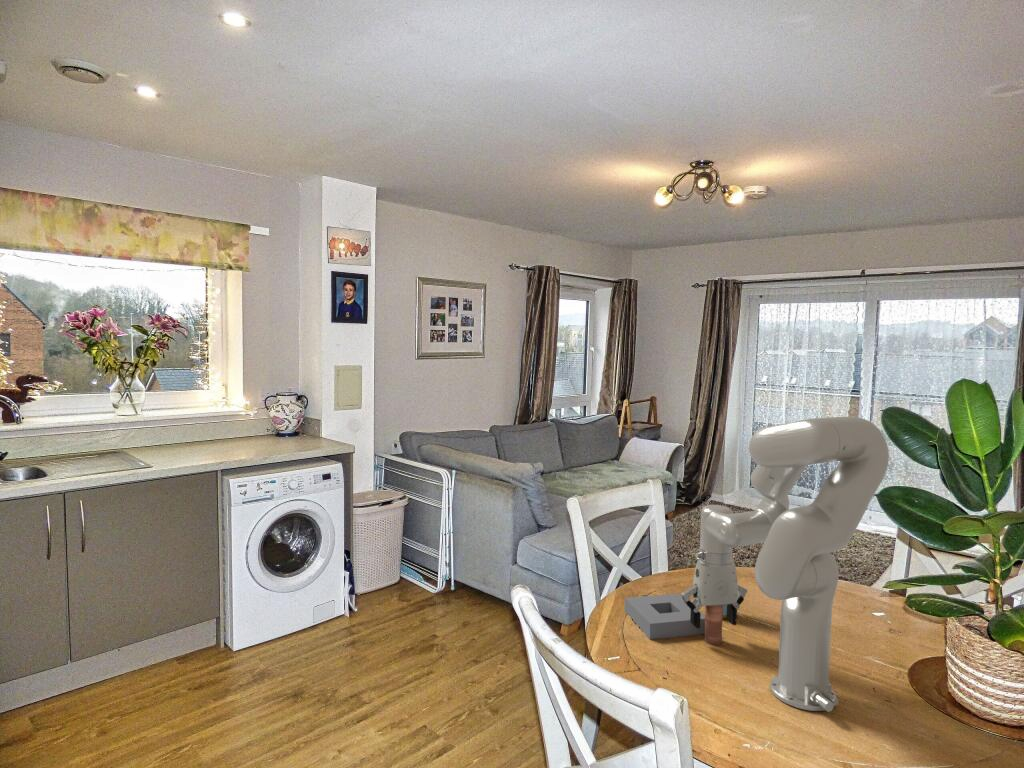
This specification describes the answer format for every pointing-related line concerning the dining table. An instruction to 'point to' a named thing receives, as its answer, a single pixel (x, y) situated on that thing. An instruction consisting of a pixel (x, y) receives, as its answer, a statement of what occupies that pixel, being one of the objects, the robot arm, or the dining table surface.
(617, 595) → the dining table surface
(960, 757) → the dining table surface
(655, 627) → the socket block
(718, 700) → the dining table surface
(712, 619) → the peg
